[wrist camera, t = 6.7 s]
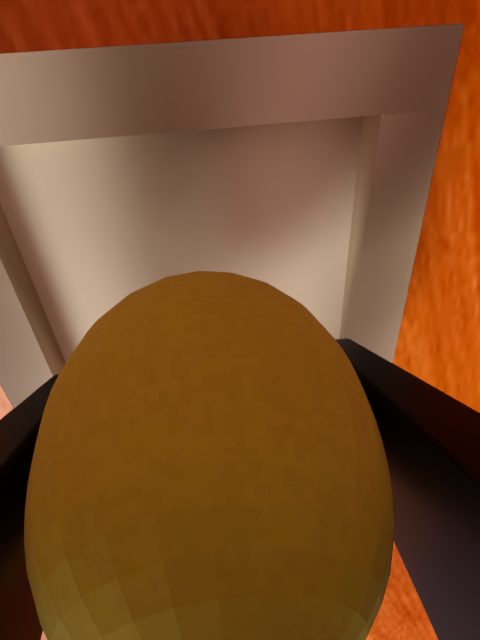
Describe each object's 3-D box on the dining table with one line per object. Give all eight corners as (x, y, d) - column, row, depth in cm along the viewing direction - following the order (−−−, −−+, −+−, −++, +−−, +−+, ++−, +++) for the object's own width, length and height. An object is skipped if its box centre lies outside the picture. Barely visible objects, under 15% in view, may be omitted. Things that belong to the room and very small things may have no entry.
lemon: (60, 241, 8) (-448, 859, 2) (298, 197, 8) (708, 615, 2) (134, 409, 11) (56, 870, 5) (309, 375, 12) (476, 780, 5)
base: (384, 41, 10) (465, 23, 7) (344, 369, 17) (378, 428, 14) (-66, 71, 9) (-179, 65, 6) (76, 404, 16) (52, 476, 13)
